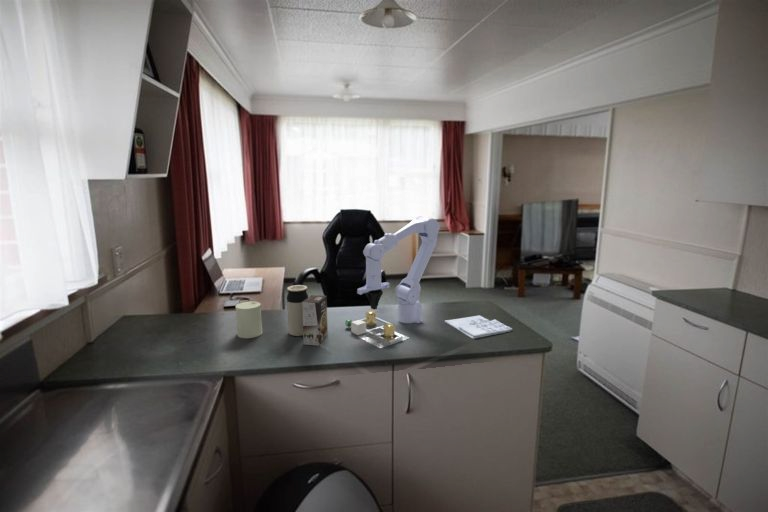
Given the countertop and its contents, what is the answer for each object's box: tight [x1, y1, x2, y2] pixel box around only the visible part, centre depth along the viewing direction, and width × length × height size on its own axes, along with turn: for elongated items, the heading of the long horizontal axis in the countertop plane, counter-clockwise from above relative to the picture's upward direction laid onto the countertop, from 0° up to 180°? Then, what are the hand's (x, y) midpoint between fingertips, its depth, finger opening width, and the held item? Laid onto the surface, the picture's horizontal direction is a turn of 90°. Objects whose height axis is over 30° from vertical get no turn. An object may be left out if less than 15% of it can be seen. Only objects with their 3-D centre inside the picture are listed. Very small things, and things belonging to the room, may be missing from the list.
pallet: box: [358, 326, 410, 349], centre depth 151 cm, size 14×13×3 cm
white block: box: [350, 319, 367, 336], centre depth 156 cm, size 4×4×5 cm
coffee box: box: [302, 294, 329, 347], centre depth 150 cm, size 9×6×16 cm
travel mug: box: [286, 284, 309, 337], centre depth 158 cm, size 8×8×18 cm
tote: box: [360, 316, 393, 331], centre depth 165 cm, size 12×12×2 cm
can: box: [235, 300, 264, 339], centre depth 157 cm, size 9×9×12 cm
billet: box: [365, 310, 377, 327], centre depth 165 cm, size 4×4×6 cm
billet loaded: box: [383, 323, 396, 340], centre depth 149 cm, size 4×4×6 cm
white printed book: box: [444, 315, 513, 340], centre depth 166 cm, size 19×20×2 cm
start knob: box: [344, 318, 353, 328], centre depth 159 cm, size 3×7×3 cm, turn 40°
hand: (373, 308), depth 161 cm, fingers closed
